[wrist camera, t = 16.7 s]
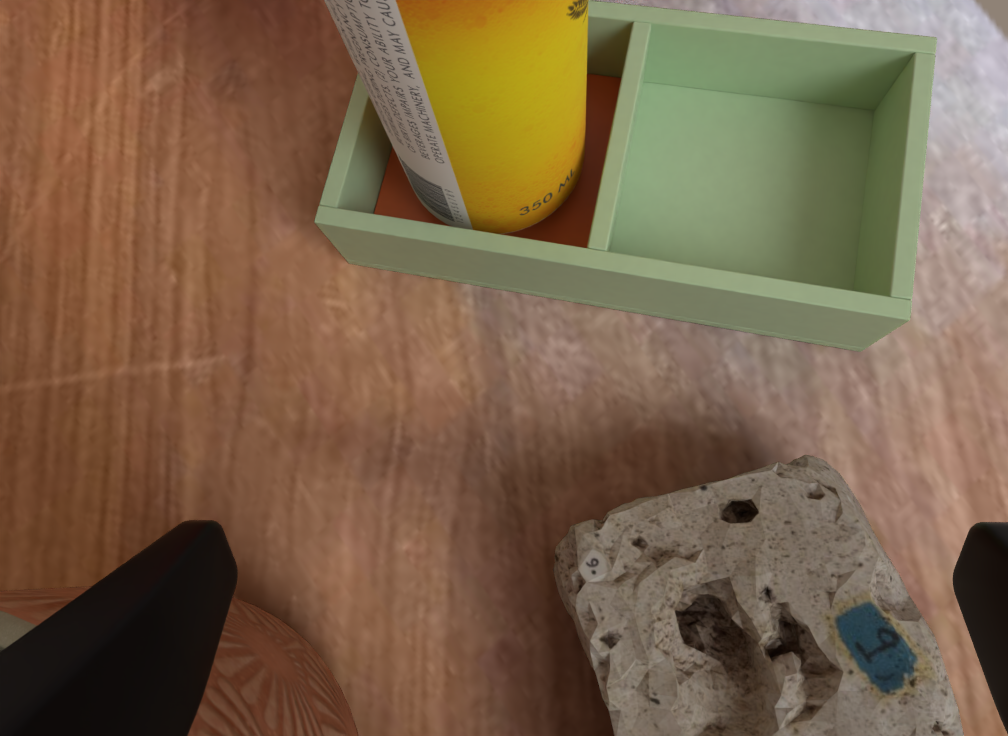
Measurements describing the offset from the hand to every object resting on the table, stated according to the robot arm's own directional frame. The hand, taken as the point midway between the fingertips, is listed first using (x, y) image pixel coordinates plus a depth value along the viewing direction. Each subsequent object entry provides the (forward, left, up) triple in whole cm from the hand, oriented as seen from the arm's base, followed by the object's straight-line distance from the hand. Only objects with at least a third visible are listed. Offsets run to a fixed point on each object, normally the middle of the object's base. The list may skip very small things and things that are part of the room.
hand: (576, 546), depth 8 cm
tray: (+12, +1, -14) cm, 18 cm away
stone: (-3, -5, -14) cm, 15 cm away
